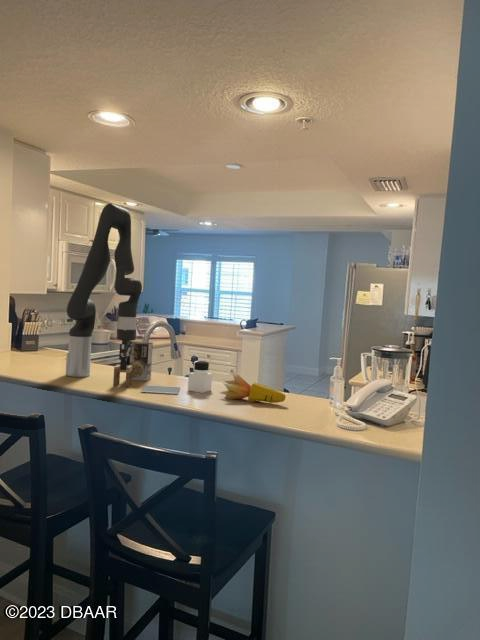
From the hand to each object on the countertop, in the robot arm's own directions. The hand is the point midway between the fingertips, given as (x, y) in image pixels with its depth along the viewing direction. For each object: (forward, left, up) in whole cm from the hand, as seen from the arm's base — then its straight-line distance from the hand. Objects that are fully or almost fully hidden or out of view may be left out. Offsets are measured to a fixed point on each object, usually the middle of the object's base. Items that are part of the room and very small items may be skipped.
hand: (125, 368), depth 182 cm
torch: (+50, -14, -8) cm, 53 cm away
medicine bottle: (+30, 0, -7) cm, 31 cm away
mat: (+15, -4, -7) cm, 17 cm away
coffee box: (+3, +16, -7) cm, 18 cm away
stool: (-1, 0, -7) cm, 7 cm away
